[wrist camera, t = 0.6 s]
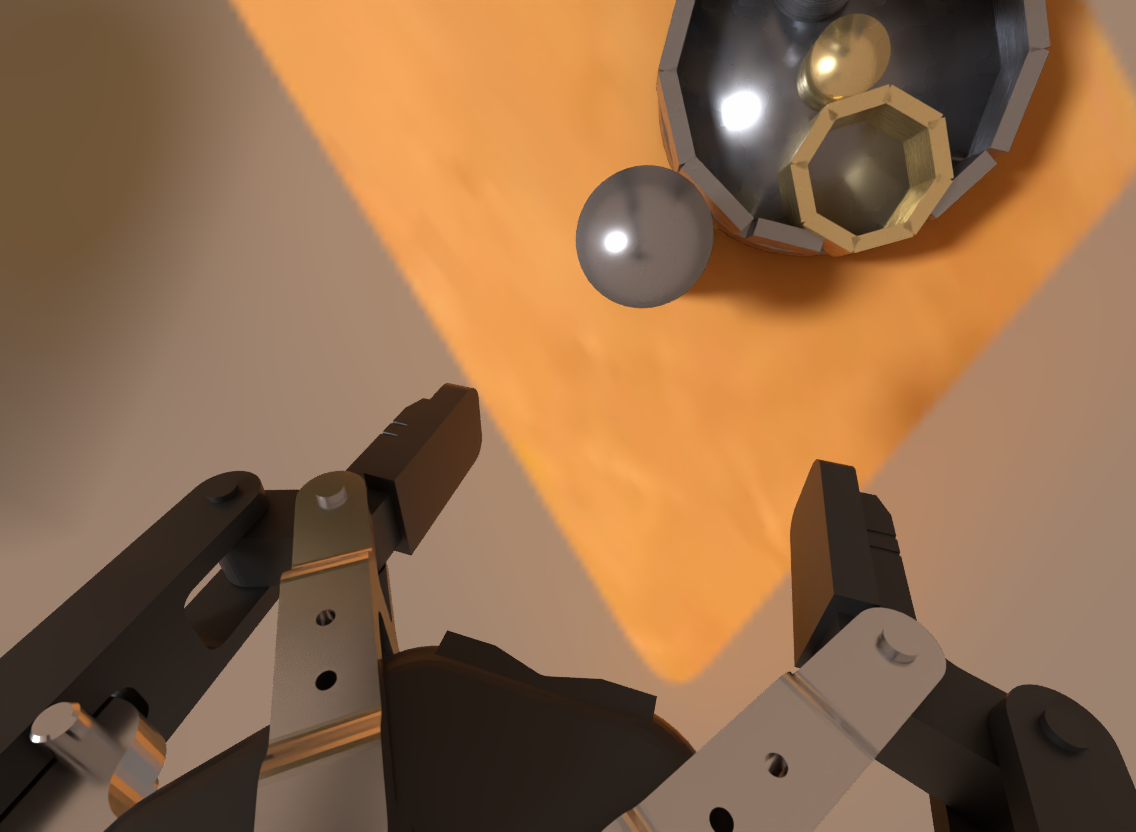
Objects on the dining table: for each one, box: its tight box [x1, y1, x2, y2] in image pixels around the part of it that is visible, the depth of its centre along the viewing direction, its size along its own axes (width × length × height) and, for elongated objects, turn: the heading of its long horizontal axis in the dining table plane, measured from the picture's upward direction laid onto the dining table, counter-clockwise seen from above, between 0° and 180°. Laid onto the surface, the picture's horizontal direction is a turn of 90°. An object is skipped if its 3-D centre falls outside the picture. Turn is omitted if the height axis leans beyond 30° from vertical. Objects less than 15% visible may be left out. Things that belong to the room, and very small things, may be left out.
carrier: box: [656, 0, 1050, 257], centre depth 25 cm, size 18×18×12 cm
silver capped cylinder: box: [576, 165, 714, 308], centre depth 28 cm, size 6×6×10 cm
